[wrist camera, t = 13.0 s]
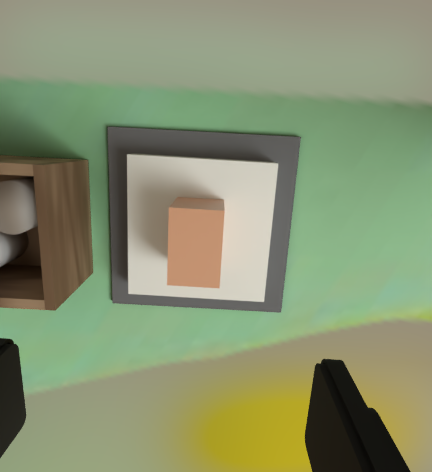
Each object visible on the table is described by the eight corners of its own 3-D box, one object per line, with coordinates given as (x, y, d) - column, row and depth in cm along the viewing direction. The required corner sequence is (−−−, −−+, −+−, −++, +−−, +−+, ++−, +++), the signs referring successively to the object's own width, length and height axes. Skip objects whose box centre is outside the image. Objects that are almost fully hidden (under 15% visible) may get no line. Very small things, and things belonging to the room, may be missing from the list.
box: (88, 160, 31) (44, 165, 23) (93, 272, 34) (55, 310, 26) (-32, 153, 31) (-116, 156, 23) (-17, 266, 34) (-87, 302, 26)
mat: (299, 137, 30) (300, 137, 30) (280, 310, 35) (280, 312, 34) (108, 126, 30) (107, 126, 30) (113, 301, 35) (112, 303, 34)
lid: (274, 162, 31) (290, 167, 24) (261, 291, 34) (271, 330, 27) (133, 153, 31) (107, 156, 24) (134, 284, 34) (111, 320, 27)
